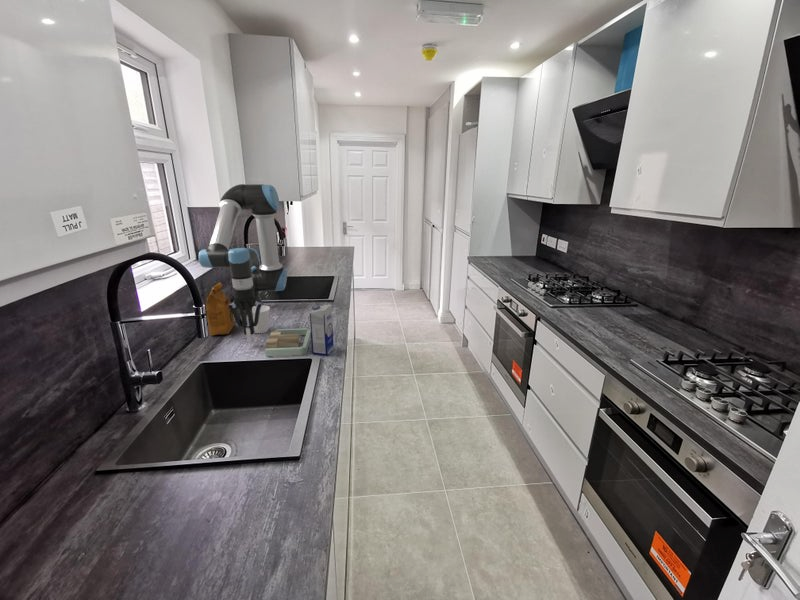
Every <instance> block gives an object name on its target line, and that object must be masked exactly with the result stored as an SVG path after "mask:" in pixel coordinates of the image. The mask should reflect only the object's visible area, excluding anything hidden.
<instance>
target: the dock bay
mask: <svg viewBox="0 0 800 600" xmlns="http://www.w3.org/2000/svg"><path fill="white" fill-rule="evenodd" d="M274 331H281V333H282V335H289V334H299V337H303V336H302V335H306V336H304V340H303V344H302V346H298V347H279V348H267V349H266V348H265V357H266V356H278V357H289V356H288V355H300V356H307V354H308V350H309V346H310V343H311V333H310V327H305V328H303V327H301V328H278V329H275V330H274Z"/></svg>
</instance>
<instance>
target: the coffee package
mask: <svg viewBox="0 0 800 600" xmlns="http://www.w3.org/2000/svg"><path fill="white" fill-rule="evenodd" d="M223 286H224V284H223V283H221V282H218V283H216V284H215V285H214V286H212V287H211V290H210V292H209V294H208V296H207V298H206V301H205V312H206V311H207V315H206V320H207V324H208V331H209V336H212V337H213V336H217V335H227V334H230V332H231V331H232V329H233V328H234V326H235V318H234V315H233V313H232V311H231V310H230V308H229V307H228V306H229V305H230V304H231V303H232V302H231V300H230V299H229V297H228V296H227V295H226V294H225V293H224V291H223V289H222V287H223Z"/></svg>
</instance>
